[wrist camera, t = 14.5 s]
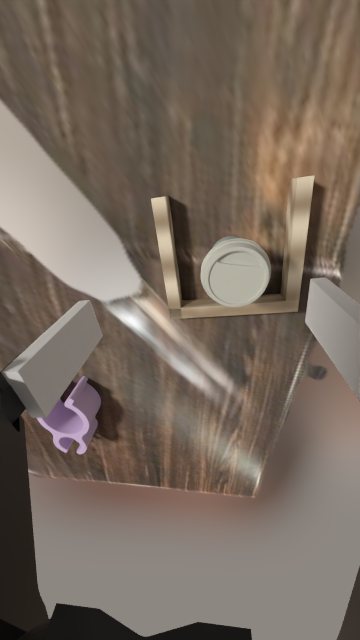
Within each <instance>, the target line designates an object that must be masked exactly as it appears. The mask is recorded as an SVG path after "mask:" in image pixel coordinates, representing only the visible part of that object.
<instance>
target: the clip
mask: <svg viewBox="0 0 360 640" xmlns="http://www.w3.org/2000/svg"><path fill="white" fill-rule="evenodd" d="M87 380H88V378H87V377H86V376H83V377H82V378H81V379H80V381H79V382H78V384H77V385H76V387H75V388H74V389H73V391H72V392H71V394H70V395H69V397H68V398H67V400H66V401H65V404H64V403H63V402H62V401H61V399H59V400H58V402H57V403H56V405H55V406H54V408H53V409H52V410H51V412H50V413H49V415H48V416H47V418H37V420H38V421H39V422H40V424H41V425H42V426H43V427H45V428H46V429H47V430H49V431H50V432H51V433H52V434H53V437H54V438H53V442H54V444H55V445H56V447H57V448H59V449H60V450H61V451H63V452H67V451H68V449H69V447H70V446H71V444H72V442H73V440H74V439H75V440H76V441H78V442H79V443H80V446H79V448H78V450H77V453H78V454H83V453H84V452H85V451H86V449H87V447H88V445H89V443H90V441H91V439H92V437H93V434H94V432H95V430H96V428H97V426H98V422H97V420H96V418H95V416H96V414H97V412H98V410H99V408H100V405H101V398H100V396H99V394H98V392H97V391H96V390H95V389H94V388H93V387H92V386H90V385H89V384H87Z"/></svg>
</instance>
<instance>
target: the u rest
mask: <svg viewBox="0 0 360 640" xmlns="http://www.w3.org/2000/svg"><path fill="white" fill-rule="evenodd" d="M313 183H314V176H306V177H299V178H292V179H290V183H289V195H288V208H287V220H286V232H285V245H284V257H283V269H282V282H281V293H280V294H266V295H261V296H260V297H259V298H258V299H257V300H255V301H254V302H252V303H250V304H248V305H245V306H241V307H228V306H224V305H221V304H219V303H218V302H216V301H214V300H213V299H212V298H209V299H195V300H182V293H181V286H180V278H179V270H178V263H177V255H176V248H175V240H174V232H173V225H172V217H171V210H170V202H169V196H165V197H158V198H152V199H151V202H152V208H153V214H154V220H155V226H156V232H157V238H158V244H159V250H160V256H161V263H162V269H163V275H164V281H165V287H166V293H167V299H168V305H169V311H170V318H171V319H180V318H197V317H214V316H231V315H248V314H265V313H282V312H298V305H299V297H300V289H301V281H302V273H303V265H304V256H305V248H306V240H307V232H308V224H309V216H310V208H311V199H312V191H313Z"/></svg>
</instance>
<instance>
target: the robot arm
mask: <svg viewBox="0 0 360 640" xmlns="http://www.w3.org/2000/svg"><path fill="white" fill-rule="evenodd" d="M305 323H306V324H307V326H308V327H309V329H310V330H311V331H312V333H313V334H314V336H315V337H316V339H317V340H318V342H319V343H320V344H321V346H322V347H323V348H324V350H325V352H326V353H327V354H328V356H329V357H330V359H331V360H332V362H333V363H334V365H335V366H336V367H337V369H338V370H339V372H340V373H341V375H342V376H343V378H344V379H345V381H346V382H347V383H348V385H349V386H350V388H351V389H352V391H353V392H354V394H355V395H356V396H357V398H358V399H359V401H360V305H359V304H358V303H357V302H356V301H354V300H353V299H352V298H350V297H349V296H348V295H347V294H345V293H344V292H343V291H342V290H341V289H339V288H338V287H337V286H336V285H334V284H333V283H332V282H331V281H330V280H328V279H327V278H326V277H325V278H314V279H310V287H309V295H308V303H307V311H306V318H305ZM102 337H103V335H102V332H101V329H100V327H99V324H98V321H97V318H96V316H95V313H94V310H93V307H92V305H91V302H90V300H85V301H78V302H77V303H76V304H75V305H74V306H73V307H72V308H71V309H70V310H69V311H67V312H66V313H65V314H64V315H63V316H62V317H61V318H60V319H59V320H58V321H57V322H55V323H54V324H53V325H52V326H51V327H50V328H49V329H48V330H47V331H46V332H44V333H43V334H42V335H41V336H40V337H39V338H38V339H37V340H36V341H35V342H33V343H32V344H31V345H30V346H29V347H27V348H26V349H25V350H24V351H23V352H22V353H20V355H18V356H17V357H16V358H15V359H14V361H12V362H11V363H9V364H8V365H7V366H6V367H5V368H4V369H3V370H2V371H1V372H0V640H252V637H251V629H246V628H239V627H231V626H224V625H216V624H208V623H201V622H197V623H193V624H190V625H187V626H184V627H180V628H177V629H173V630H170V631H166V632H163V633H159V634H156V635H153V636H149V637H143V636H140V635H138V634H137V633H135V632H134V631H132V630H131V629H129V628H128V627H126V626H124V625H123V624H122V623H120V622H118V621H117V620H115V619H114V618H112V617H111V616H109V615H108V614H106V613H105V612H103V611H102V610H100V609H96V608H88V607H81V606H73V605H66V604H58V603H57V604H56V606H55V609H54V612H53V615H52V617H51V619H48V615H47V611H46V607H45V605H44V603H43V601H42V598H41V596H40V593H39V590H38V584H37V573H36V561H35V549H34V536H33V525H32V512H31V500H30V488H29V476H28V464H27V452H26V439H25V427H24V420H23V418H22V417H21V414H22V412H23V411H24V410H25V409H26V410H27V411H28V413H29V414H30V416H31V417H32V418H47V416H48V415H49V413H50V412H51V410H52V409H53V408H54V406H55V405H56V403H57V402H58V400H59V399H60V397H61V396H62V394H63V393H64V392H65V390H66V389H67V387H68V386H69V384H70V383H71V381H72V380H73V379H74V377H75V376H76V374H77V373H78V371H79V370H80V368H81V367H82V366H83V364H84V363H85V361H86V360H87V358H88V357H89V355H90V354H91V352H92V351H93V350H94V348H95V347H96V345H97V344H98V342H99V341H100V339H101V338H102ZM337 640H360V567H359V571H358V574H357V577H356V581H355V584H354V587H353V590H352V594H351V597H350V601H349V604H348V608H347V611H346V614H345V617H344V621H343V624H342V627H341V630H340V633H339V635H338V638H337Z"/></svg>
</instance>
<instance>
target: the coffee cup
mask: <svg viewBox="0 0 360 640" xmlns="http://www.w3.org/2000/svg"><path fill="white" fill-rule="evenodd" d="M270 276H271V265H270V260H269V257H268V255H267V253H266V252H265V251H264V249H263V248H262V247H261V246H260V245H258V244H257V243H255V242H253V241H251V240H248V239H242V238H239V237H236V236H226V237H223V238H221V239H219V240H218V241H217V242H216V243H215V245H214V246H213V248H212V249H211V250H210V251H209V253H208V254H207V255H206V257H205V259H204V261H203V263H202V267H201V282H202V285H203V287H204V289H205V291H206V293H207V294H208V295H209V296H210V297H211V298H212V299H213V300H214V301H216V302H218V303H219V304H221V305H224V306H228V307H241V306H245V305H248V304H250V303H252V302H254V301H255V300H257V299H258V298H259V297H260V296H261V295H262V294H263V292H264V291H265V289H266V287H267V285H268V283H269V280H270Z"/></svg>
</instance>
